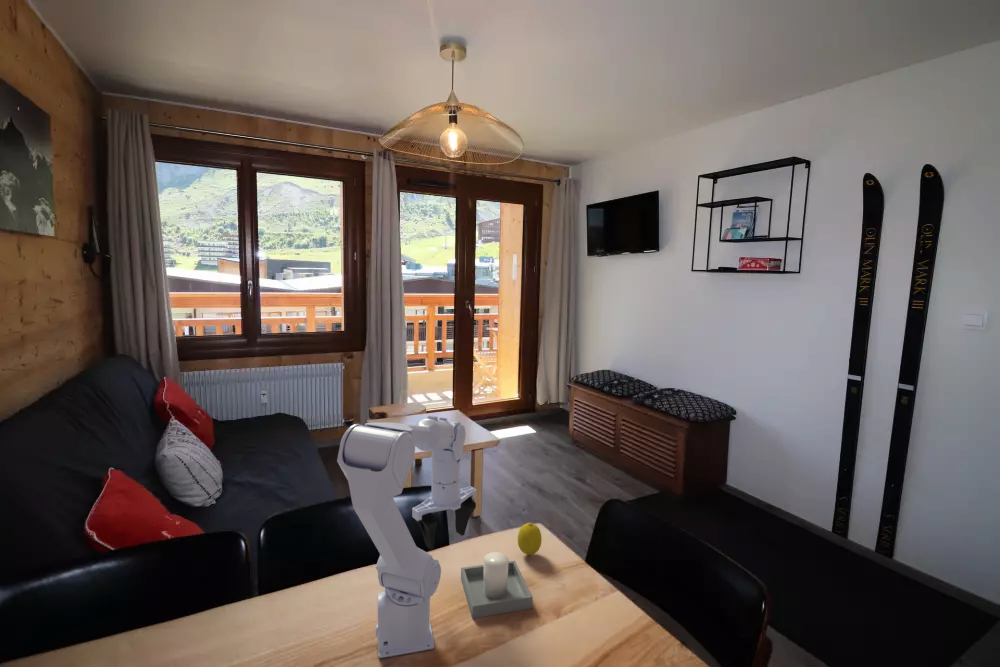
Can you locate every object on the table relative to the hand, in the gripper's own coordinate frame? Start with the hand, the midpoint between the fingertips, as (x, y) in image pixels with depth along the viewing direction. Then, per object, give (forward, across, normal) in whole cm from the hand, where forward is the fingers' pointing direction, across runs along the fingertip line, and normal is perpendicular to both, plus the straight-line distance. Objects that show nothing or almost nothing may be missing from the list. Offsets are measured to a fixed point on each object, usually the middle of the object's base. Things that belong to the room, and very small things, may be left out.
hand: (445, 539), depth 101 cm
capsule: (+10, +7, -8) cm, 15 cm away
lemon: (+11, +21, -3) cm, 24 cm away
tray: (+10, +7, -8) cm, 15 cm away
